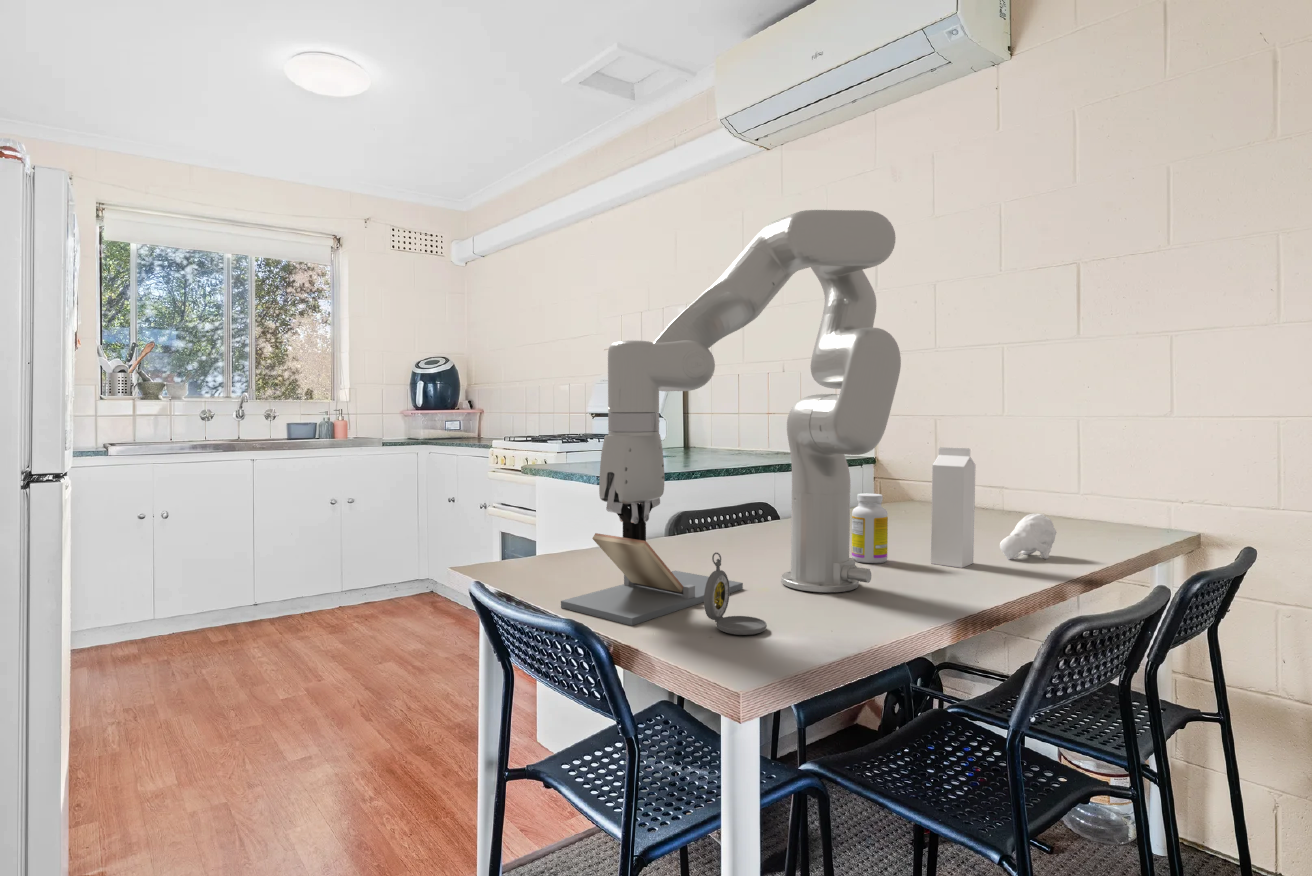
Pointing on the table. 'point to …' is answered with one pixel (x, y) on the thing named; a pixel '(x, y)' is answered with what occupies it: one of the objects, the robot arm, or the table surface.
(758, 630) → the pocket watch
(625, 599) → the board
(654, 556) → the tile
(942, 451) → the milk
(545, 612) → the table surface
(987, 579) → the table surface
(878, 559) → the supplement bottle
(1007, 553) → the white animal figurine
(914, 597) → the table surface
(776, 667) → the table surface
